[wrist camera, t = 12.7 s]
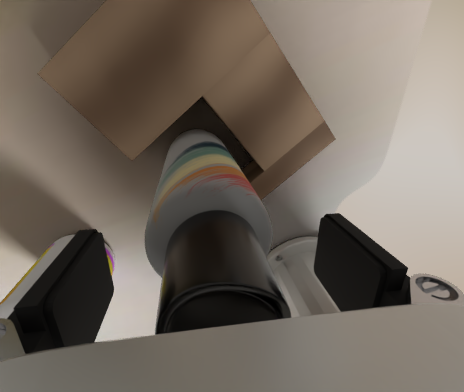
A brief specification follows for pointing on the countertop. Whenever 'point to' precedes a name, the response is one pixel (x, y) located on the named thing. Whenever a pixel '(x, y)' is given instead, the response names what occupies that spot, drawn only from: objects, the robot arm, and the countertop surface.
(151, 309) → the countertop surface
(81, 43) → the notched wooden block
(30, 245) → the countertop surface
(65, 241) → the supplement bottle
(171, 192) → the lotion bottle
